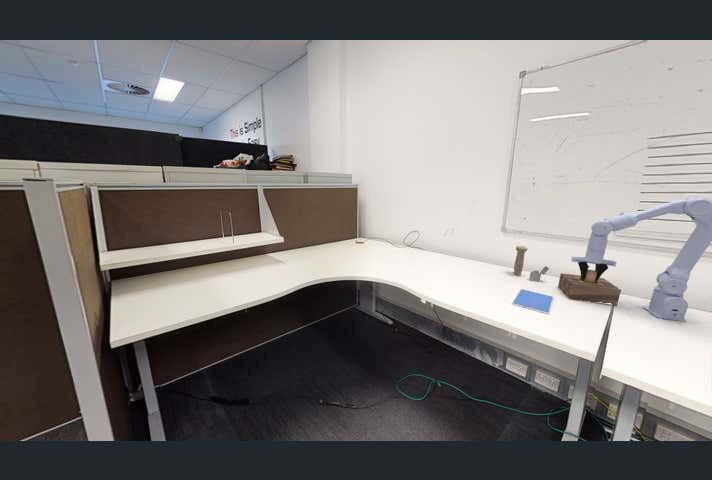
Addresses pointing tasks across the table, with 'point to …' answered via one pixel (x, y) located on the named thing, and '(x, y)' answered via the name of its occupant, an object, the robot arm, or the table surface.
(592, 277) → the peg
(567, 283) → the socket block
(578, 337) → the table surface
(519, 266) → the handle
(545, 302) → the tablet computer
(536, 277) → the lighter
